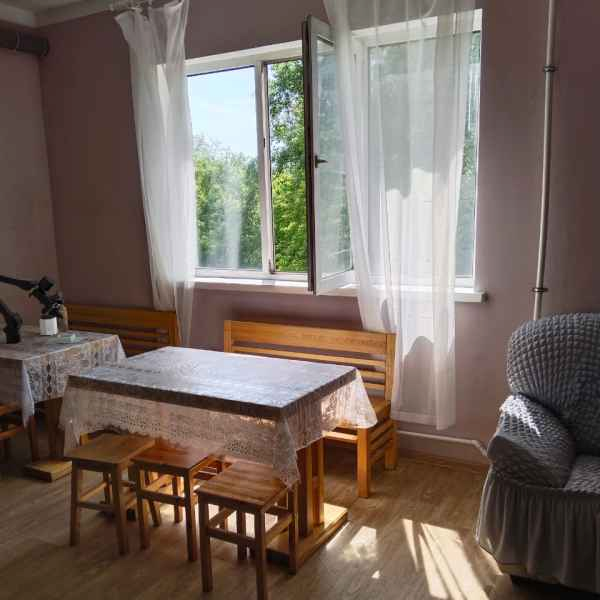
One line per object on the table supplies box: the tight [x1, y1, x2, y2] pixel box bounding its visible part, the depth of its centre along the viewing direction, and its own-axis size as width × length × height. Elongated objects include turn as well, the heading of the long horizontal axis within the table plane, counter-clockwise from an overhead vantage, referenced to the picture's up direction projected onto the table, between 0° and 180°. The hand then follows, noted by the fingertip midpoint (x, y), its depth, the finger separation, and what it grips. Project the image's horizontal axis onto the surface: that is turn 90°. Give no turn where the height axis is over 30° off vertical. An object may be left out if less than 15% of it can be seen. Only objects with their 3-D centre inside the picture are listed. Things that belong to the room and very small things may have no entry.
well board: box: [44, 333, 86, 345], centre depth 338 cm, size 18×12×3 cm, turn 94°
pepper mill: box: [57, 304, 69, 333], centre depth 335 cm, size 5×5×14 cm
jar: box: [39, 312, 58, 336], centre depth 354 cm, size 9×8×12 cm
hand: (65, 317), depth 335 cm, fingers closed on pepper mill, 5 cm apart
